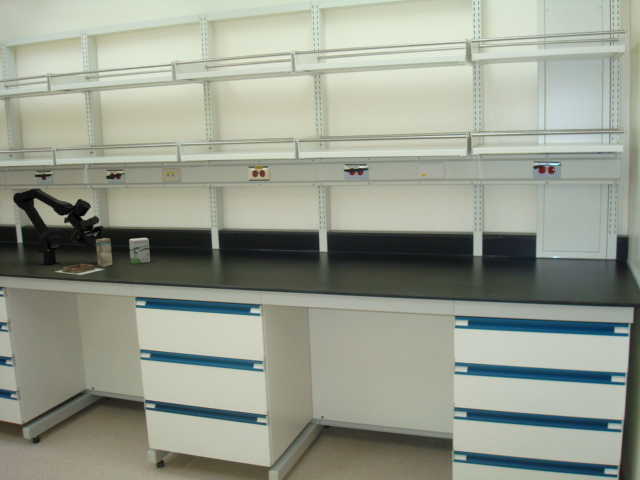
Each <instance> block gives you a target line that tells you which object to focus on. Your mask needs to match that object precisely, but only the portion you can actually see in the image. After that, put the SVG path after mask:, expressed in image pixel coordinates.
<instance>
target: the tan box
mask: <svg viewBox="0 0 640 480" xmlns="http://www.w3.org/2000/svg"><path fill="white" fill-rule="evenodd" d="M111 244H112V243H111V238H108V237H107V238H105V237H104V238H103V239H97V240H96V239H95V245H96V254H97V266H98V267H107V266H111V265H113V256H112V255H113V254H112V245H111Z"/></svg>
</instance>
